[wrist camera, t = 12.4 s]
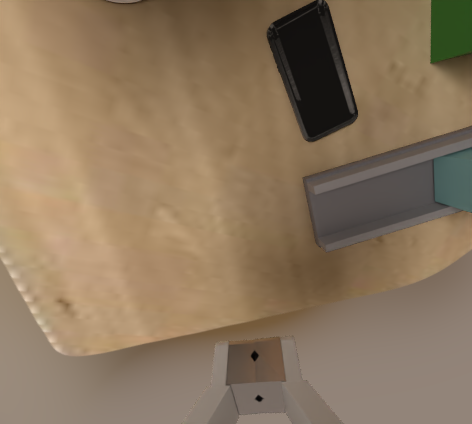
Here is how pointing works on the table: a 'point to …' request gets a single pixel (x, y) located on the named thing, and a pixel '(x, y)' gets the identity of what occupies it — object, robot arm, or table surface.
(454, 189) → the block
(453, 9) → the hardback book
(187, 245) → the table surface
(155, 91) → the table surface
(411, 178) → the keeper track
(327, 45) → the phone
